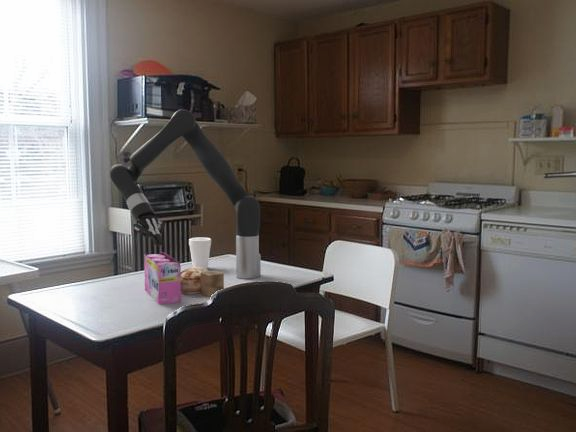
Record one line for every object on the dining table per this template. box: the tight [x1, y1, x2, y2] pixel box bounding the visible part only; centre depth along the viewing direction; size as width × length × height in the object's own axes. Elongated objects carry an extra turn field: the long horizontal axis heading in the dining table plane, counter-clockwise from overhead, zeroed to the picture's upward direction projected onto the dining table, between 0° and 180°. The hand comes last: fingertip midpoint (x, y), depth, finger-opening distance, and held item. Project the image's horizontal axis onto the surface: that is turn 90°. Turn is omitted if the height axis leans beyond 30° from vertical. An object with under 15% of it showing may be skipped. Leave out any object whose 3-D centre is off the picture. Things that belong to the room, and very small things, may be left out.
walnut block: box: [200, 270, 225, 298], centre depth 194 cm, size 6×6×8 cm
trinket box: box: [181, 266, 209, 295], centre depth 202 cm, size 13×15×8 cm
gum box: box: [144, 251, 182, 305], centre depth 193 cm, size 24×8×14 cm, turn 27°
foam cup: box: [188, 236, 212, 270], centre depth 237 cm, size 10×9×13 cm
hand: (160, 244), depth 195 cm, fingers closed
